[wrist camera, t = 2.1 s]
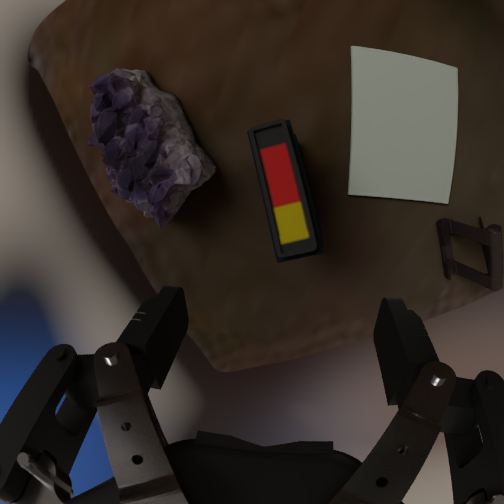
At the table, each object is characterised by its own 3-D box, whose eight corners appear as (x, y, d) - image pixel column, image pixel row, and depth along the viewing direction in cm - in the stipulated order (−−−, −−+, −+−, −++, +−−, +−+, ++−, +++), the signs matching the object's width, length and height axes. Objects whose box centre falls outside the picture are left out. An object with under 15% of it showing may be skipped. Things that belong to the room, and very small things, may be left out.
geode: (90, 106, 33) (46, 102, 24) (157, 56, 31) (125, 34, 21) (157, 226, 39) (127, 253, 30) (230, 185, 37) (219, 201, 28)
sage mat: (350, 46, 26) (351, 45, 26) (455, 68, 24) (457, 68, 24) (347, 193, 34) (348, 194, 34) (446, 202, 32) (448, 203, 32)
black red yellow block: (295, 255, 37) (274, 263, 23) (272, 156, 37) (238, 108, 23) (325, 249, 36) (323, 253, 22) (300, 148, 36) (281, 96, 22)
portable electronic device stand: (433, 220, 34) (461, 247, 26) (478, 201, 31) (510, 224, 24) (442, 272, 37) (465, 306, 30) (483, 254, 35) (510, 283, 27)
